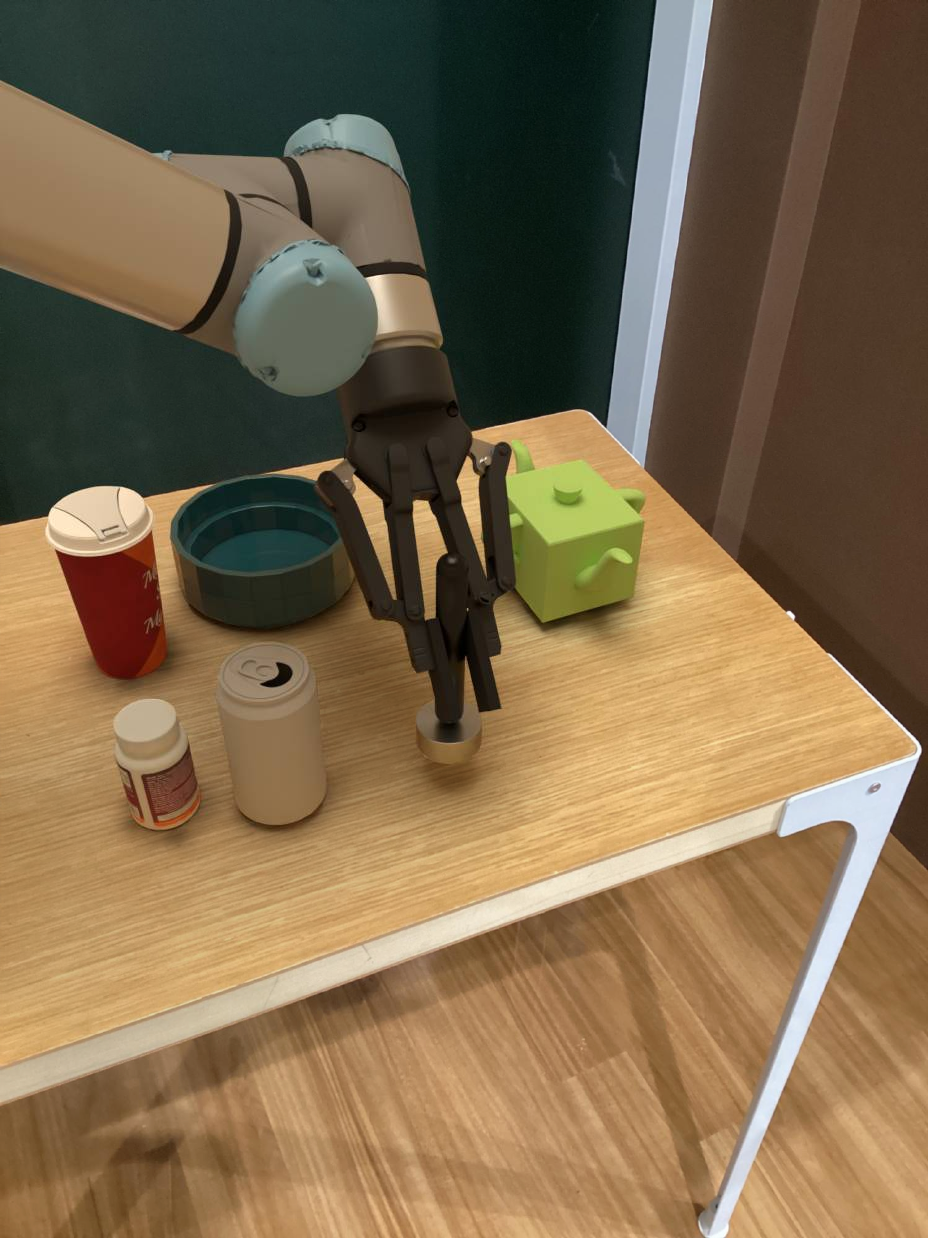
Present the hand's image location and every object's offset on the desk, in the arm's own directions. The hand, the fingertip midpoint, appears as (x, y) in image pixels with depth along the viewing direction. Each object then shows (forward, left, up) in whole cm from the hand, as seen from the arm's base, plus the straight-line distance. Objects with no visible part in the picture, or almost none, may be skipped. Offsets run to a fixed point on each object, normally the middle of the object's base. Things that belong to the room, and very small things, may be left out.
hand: (470, 714), depth 68 cm
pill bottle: (-21, +4, -9) cm, 23 cm away
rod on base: (-1, +4, -6) cm, 7 cm away
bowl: (-13, +29, -9) cm, 33 cm away
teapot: (+12, +24, -9) cm, 29 cm away
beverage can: (-13, +3, -9) cm, 16 cm away
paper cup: (-24, +20, -9) cm, 33 cm away
